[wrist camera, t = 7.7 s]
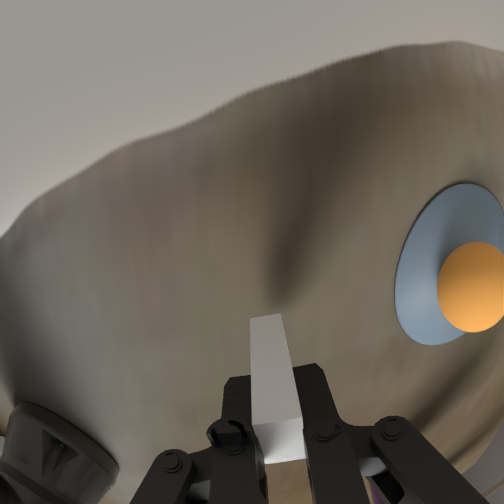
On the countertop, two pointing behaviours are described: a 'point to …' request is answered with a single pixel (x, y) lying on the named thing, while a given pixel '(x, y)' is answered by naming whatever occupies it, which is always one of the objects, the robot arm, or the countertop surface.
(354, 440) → the robot arm
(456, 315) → the ball
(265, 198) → the countertop surface
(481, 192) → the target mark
